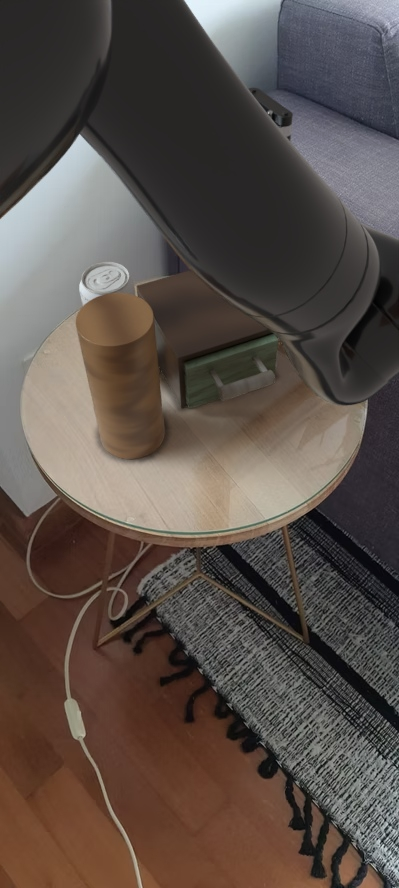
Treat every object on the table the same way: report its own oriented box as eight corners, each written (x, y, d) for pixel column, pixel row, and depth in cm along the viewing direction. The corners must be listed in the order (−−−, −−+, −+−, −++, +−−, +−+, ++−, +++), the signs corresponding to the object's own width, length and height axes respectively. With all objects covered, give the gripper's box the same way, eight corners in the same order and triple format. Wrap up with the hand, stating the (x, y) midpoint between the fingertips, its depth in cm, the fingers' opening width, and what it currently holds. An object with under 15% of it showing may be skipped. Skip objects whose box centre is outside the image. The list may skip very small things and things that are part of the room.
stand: (112, 467, 78) (89, 355, 64) (91, 420, 83) (65, 305, 68) (174, 446, 80) (165, 331, 66) (151, 401, 84) (137, 284, 70)
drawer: (291, 404, 82) (296, 364, 77) (203, 434, 80) (202, 395, 74) (232, 317, 92) (232, 276, 86) (152, 341, 89) (148, 301, 84)
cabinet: (274, 377, 86) (279, 325, 79) (181, 408, 83) (178, 358, 77) (228, 310, 94) (229, 258, 87) (142, 337, 91) (136, 285, 84)
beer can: (87, 370, 88) (66, 276, 76) (124, 347, 90) (110, 252, 78) (116, 397, 85) (99, 303, 73) (154, 372, 87) (144, 277, 75)
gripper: (343, 119, 51) (246, 32, 60) (160, 164, 47) (88, 65, 57) (330, 209, 57) (243, 117, 66) (167, 255, 53) (100, 151, 63)
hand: (172, 93), depth 61 cm, fingers closed on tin, 6 cm apart
